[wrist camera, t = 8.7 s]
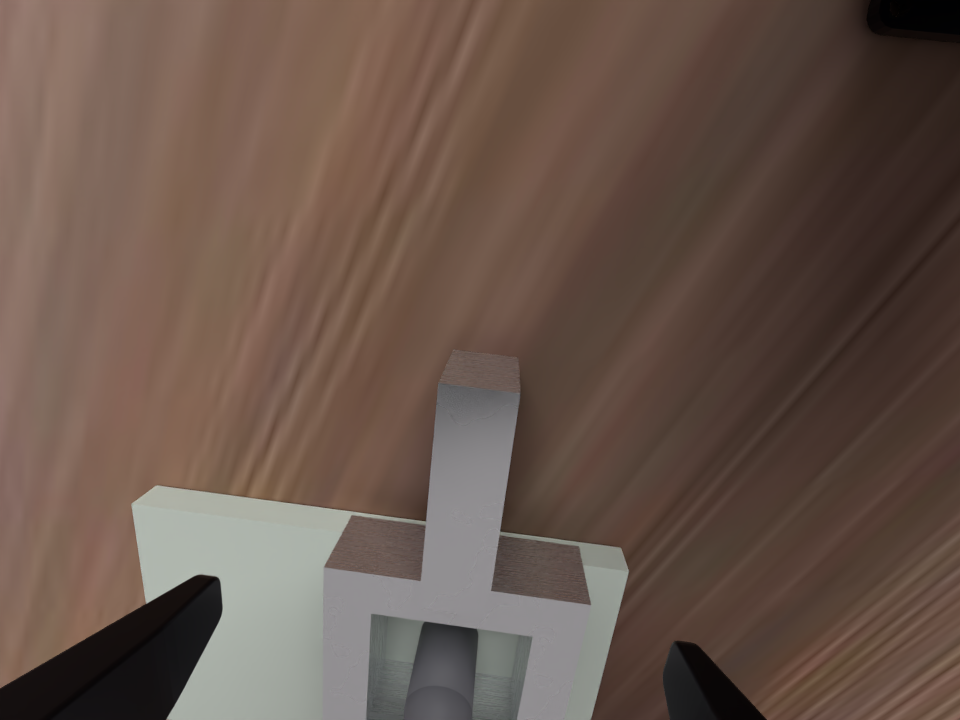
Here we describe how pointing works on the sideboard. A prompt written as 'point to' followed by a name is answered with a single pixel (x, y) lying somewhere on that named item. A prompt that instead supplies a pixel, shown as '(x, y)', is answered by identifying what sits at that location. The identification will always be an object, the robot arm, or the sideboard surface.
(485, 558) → the steel link
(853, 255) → the sideboard surface
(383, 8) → the sideboard surface
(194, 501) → the keeper board
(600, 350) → the sideboard surface
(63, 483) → the sideboard surface
